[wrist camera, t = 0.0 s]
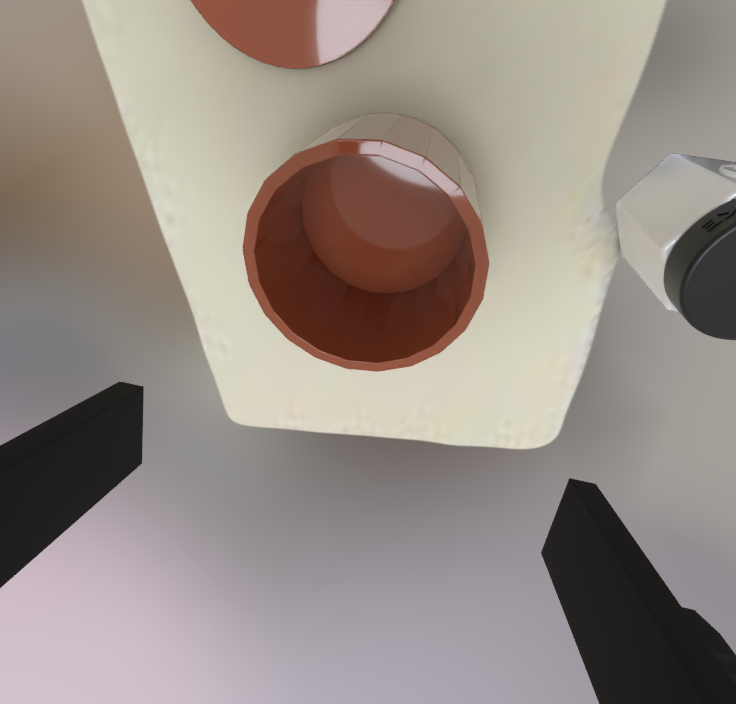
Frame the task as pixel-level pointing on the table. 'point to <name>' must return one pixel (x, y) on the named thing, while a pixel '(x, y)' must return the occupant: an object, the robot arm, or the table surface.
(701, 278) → the jar
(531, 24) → the table surface
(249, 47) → the lid
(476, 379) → the table surface
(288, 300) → the pot
